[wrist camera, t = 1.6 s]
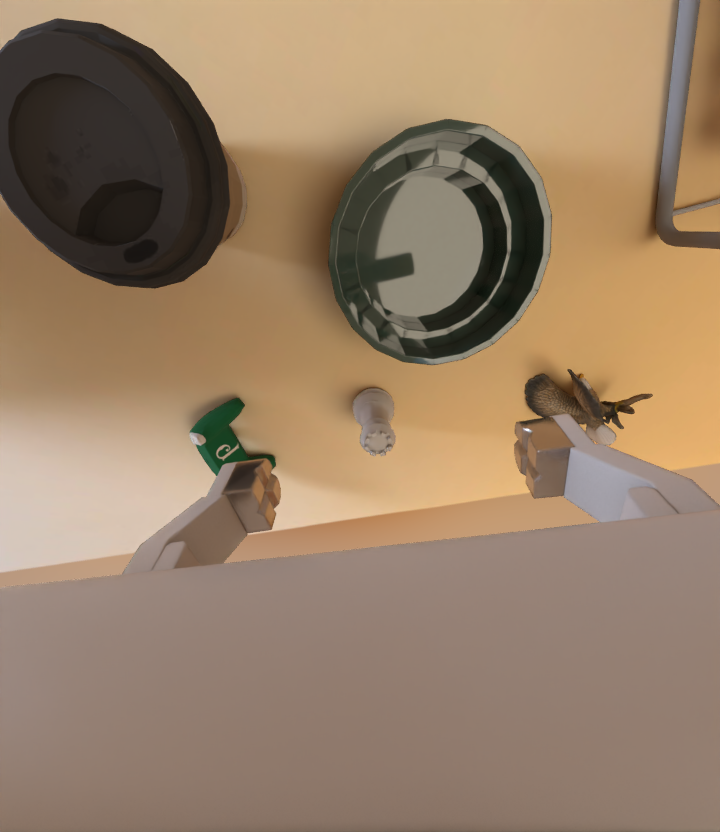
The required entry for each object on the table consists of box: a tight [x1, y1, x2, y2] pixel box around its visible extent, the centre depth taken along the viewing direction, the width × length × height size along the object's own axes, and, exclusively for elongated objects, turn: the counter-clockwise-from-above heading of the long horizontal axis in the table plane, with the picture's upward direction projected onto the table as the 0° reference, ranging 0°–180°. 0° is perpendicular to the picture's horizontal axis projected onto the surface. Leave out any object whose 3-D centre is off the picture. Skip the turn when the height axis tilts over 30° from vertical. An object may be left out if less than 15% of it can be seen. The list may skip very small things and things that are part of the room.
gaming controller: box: [190, 398, 276, 476], centre depth 39 cm, size 9×4×6 cm
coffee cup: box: [0, 18, 247, 288], centre depth 23 cm, size 11×11×15 cm
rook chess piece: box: [353, 388, 396, 456], centre depth 36 cm, size 4×4×8 cm
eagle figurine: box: [525, 369, 653, 446], centre depth 37 cm, size 8×7×9 cm
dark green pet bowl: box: [328, 119, 552, 365], centre depth 30 cm, size 16×16×6 cm
